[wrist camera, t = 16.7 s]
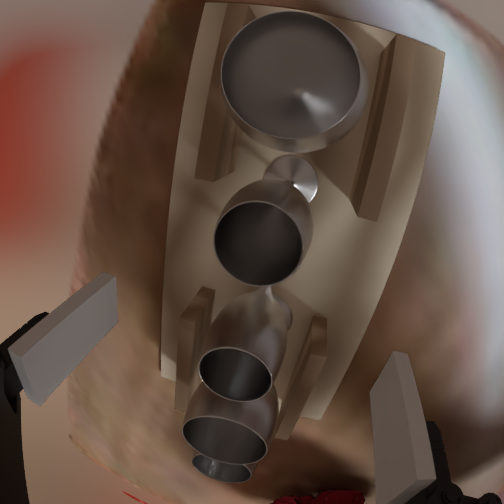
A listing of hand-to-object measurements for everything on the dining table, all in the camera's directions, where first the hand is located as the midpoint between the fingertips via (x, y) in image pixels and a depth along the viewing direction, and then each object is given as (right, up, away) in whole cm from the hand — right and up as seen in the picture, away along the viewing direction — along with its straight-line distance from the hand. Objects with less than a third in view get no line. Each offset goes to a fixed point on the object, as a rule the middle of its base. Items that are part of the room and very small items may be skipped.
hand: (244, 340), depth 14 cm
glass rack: (+2, +4, +11) cm, 12 cm away
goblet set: (+2, +4, +11) cm, 12 cm away
